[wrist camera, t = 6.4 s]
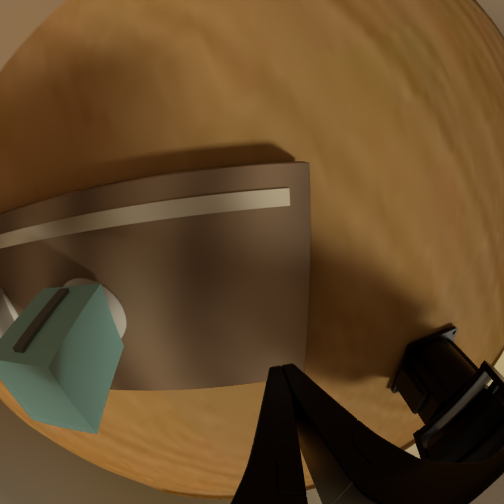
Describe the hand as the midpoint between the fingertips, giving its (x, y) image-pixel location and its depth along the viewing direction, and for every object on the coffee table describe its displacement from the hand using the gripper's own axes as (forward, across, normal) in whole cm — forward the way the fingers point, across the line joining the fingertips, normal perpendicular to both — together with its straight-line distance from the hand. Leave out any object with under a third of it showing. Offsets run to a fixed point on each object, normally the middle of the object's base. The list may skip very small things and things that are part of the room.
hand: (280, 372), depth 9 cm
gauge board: (+6, +9, 0) cm, 11 cm away
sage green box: (+5, +10, 0) cm, 11 cm away
